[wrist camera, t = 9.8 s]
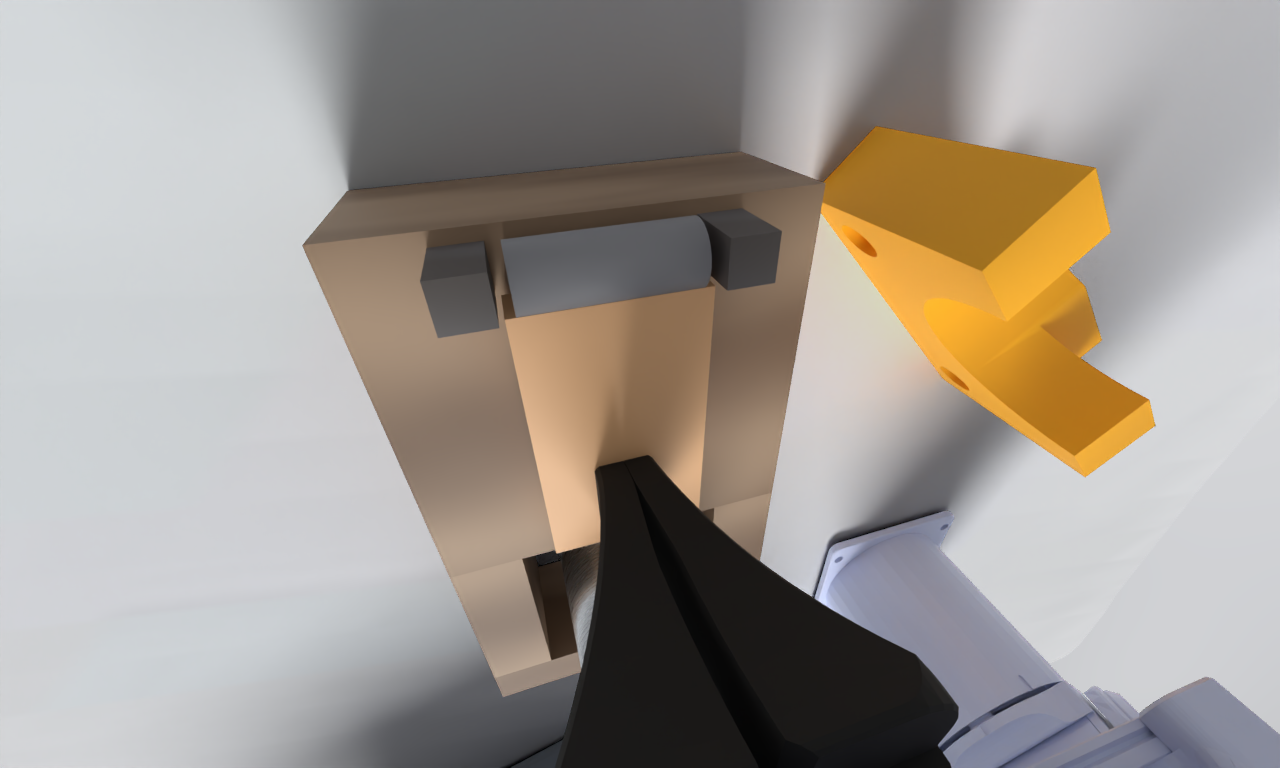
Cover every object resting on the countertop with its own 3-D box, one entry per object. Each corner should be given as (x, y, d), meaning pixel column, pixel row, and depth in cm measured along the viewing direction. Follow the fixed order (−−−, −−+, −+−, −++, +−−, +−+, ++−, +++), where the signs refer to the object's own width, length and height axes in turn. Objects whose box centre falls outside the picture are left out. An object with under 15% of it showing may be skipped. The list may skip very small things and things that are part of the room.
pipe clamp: (1023, 304, 21) (1206, 388, 16) (939, 376, 22) (1084, 477, 17) (919, 74, 14) (1182, 89, 9) (805, 195, 15) (981, 271, 10)
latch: (486, 229, 9) (490, 259, 8) (694, 204, 10) (725, 227, 8) (549, 517, 14) (557, 560, 13) (683, 484, 15) (701, 521, 13)
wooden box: (711, 540, 23) (768, 655, 19) (497, 600, 21) (505, 746, 17) (741, 151, 13) (876, 202, 9) (347, 190, 11) (271, 280, 7)
